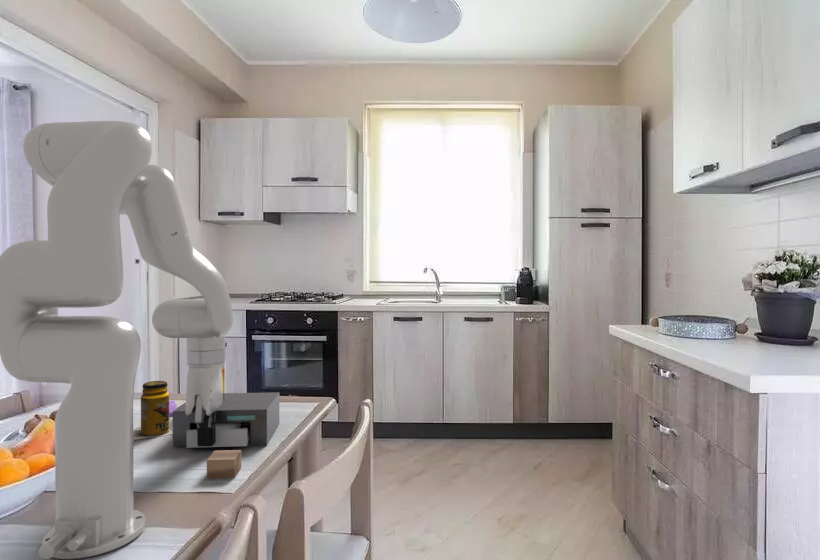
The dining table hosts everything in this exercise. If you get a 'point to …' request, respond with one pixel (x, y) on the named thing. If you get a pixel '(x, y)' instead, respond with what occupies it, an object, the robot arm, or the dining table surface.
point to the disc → (228, 425)
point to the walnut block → (224, 464)
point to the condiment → (154, 411)
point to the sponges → (172, 407)
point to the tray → (224, 437)
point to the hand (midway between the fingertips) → (206, 444)
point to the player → (235, 417)
